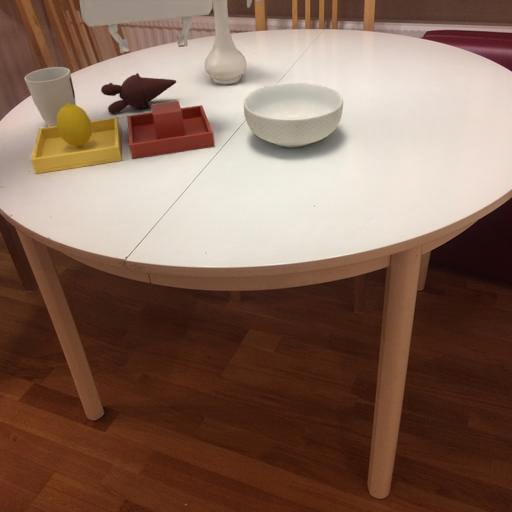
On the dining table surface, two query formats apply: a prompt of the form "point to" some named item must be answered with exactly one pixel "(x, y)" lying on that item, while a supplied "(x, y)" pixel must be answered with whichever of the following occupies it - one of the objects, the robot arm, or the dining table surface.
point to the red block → (168, 120)
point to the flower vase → (224, 49)
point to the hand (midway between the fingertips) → (154, 49)
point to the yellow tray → (77, 148)
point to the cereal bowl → (293, 113)
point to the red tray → (195, 137)
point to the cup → (51, 91)
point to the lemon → (74, 125)
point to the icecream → (136, 92)
